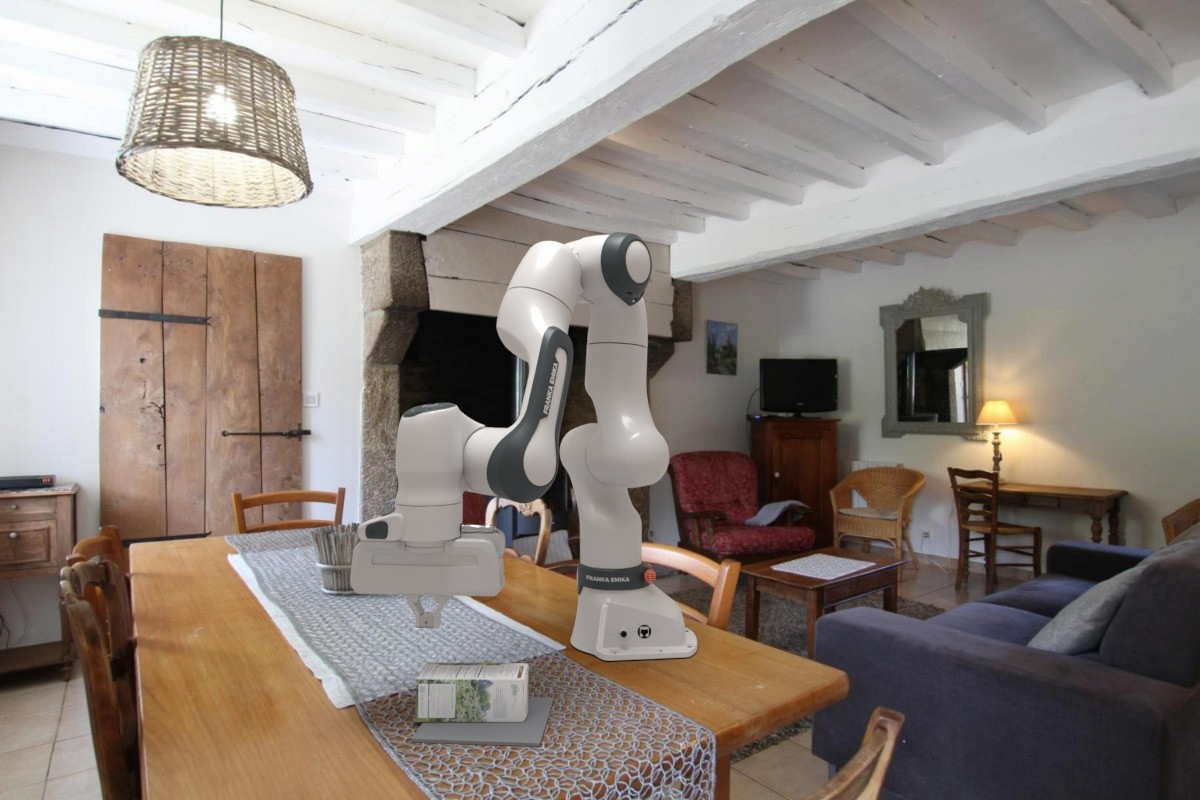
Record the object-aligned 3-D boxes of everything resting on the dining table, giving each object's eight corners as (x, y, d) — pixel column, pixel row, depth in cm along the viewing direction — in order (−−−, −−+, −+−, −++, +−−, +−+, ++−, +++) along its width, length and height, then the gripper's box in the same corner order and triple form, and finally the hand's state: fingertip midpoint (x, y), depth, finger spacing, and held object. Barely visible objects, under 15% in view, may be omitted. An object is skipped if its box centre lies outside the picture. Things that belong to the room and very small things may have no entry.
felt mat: (553, 700, 93) (553, 697, 93) (539, 746, 80) (539, 743, 80) (442, 696, 94) (442, 694, 94) (411, 742, 81) (411, 738, 81)
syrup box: (424, 704, 91) (529, 703, 91) (414, 723, 85) (526, 722, 86) (425, 662, 91) (530, 661, 92) (414, 679, 85) (526, 678, 86)
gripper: (510, 520, 91) (509, 621, 91) (365, 518, 92) (364, 617, 92) (500, 528, 85) (499, 636, 84) (345, 526, 86) (344, 633, 85)
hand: (428, 627), depth 88 cm, fingers closed
